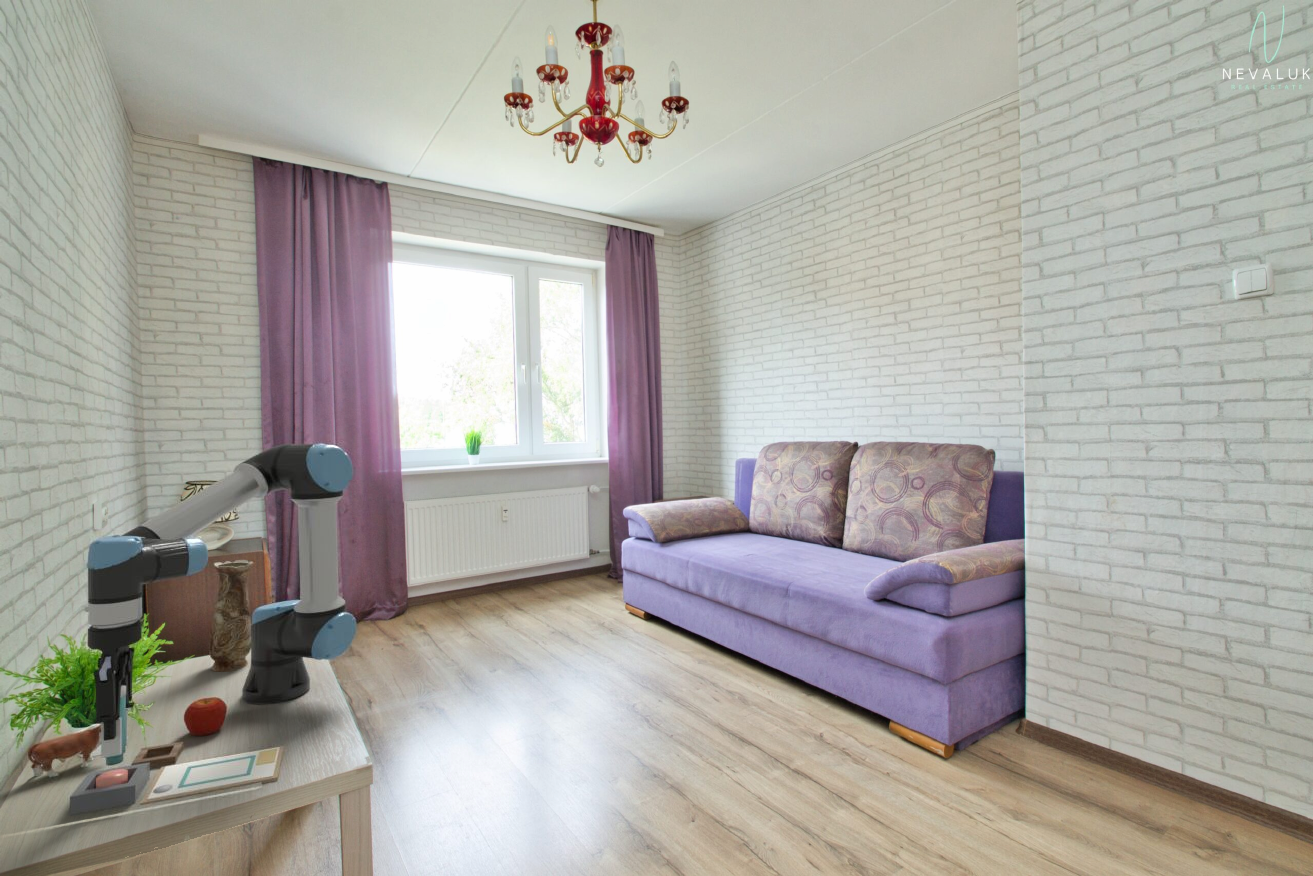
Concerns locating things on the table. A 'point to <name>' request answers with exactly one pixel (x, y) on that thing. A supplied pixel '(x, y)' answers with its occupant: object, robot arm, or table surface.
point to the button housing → (109, 790)
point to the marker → (119, 758)
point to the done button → (112, 778)
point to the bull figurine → (64, 749)
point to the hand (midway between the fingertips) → (114, 750)
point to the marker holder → (159, 755)
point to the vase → (231, 617)
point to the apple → (205, 716)
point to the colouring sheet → (215, 774)
